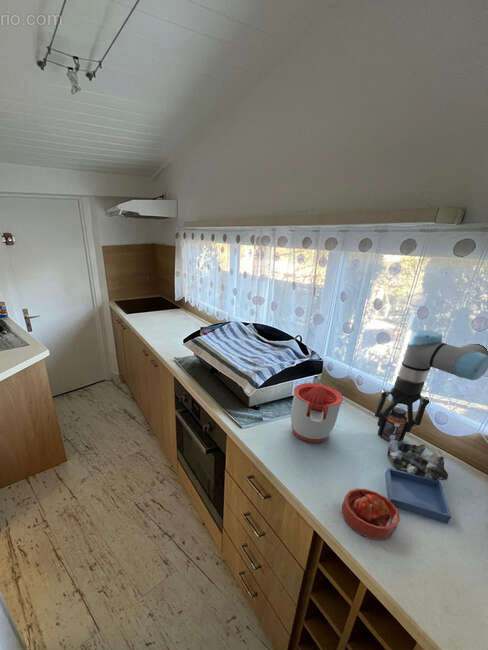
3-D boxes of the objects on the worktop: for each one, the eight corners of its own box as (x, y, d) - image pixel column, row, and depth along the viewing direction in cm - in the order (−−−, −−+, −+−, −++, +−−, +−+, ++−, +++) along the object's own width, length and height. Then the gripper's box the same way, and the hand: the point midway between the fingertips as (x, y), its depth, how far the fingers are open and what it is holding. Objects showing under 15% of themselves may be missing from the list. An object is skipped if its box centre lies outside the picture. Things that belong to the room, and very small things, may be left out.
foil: (427, 446, 100) (453, 450, 86) (422, 478, 99) (447, 488, 85) (387, 437, 103) (406, 439, 89) (381, 468, 103) (399, 476, 88)
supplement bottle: (396, 444, 106) (406, 417, 101) (377, 436, 110) (386, 410, 104) (401, 436, 109) (412, 410, 104) (383, 429, 113) (392, 403, 108)
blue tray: (437, 488, 89) (440, 481, 87) (447, 523, 78) (451, 516, 77) (384, 473, 94) (387, 467, 93) (388, 505, 83) (391, 498, 82)
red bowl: (391, 509, 82) (397, 498, 80) (396, 548, 72) (402, 536, 70) (342, 494, 87) (345, 483, 85) (340, 528, 77) (344, 516, 75)
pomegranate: (384, 525, 80) (365, 486, 84) (404, 525, 73) (382, 484, 77) (360, 534, 78) (342, 495, 82) (378, 535, 72) (357, 492, 76)
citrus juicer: (285, 445, 106) (294, 395, 97) (287, 418, 121) (295, 372, 111) (334, 454, 102) (348, 403, 92) (330, 425, 116) (342, 378, 107)
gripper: (444, 379, 98) (419, 437, 109) (377, 368, 105) (360, 424, 116) (450, 389, 92) (423, 449, 103) (378, 377, 99) (360, 434, 110)
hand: (390, 435), depth 109 cm, fingers closed on supplement bottle, 6 cm apart
